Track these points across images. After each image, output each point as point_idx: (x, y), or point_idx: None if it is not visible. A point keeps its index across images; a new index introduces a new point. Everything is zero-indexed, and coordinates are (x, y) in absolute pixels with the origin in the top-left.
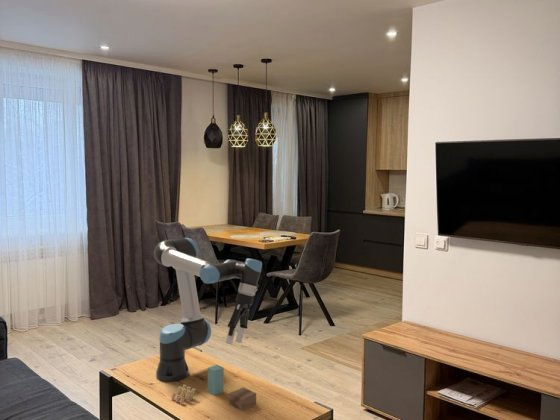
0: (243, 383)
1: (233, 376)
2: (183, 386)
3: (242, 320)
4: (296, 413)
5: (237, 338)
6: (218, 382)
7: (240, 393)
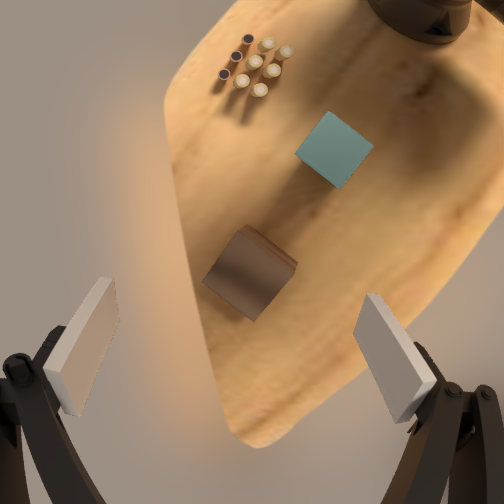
0: (405, 247)
1: (455, 203)
2: (279, 49)
3: (400, 480)
4: (229, 398)
5: (374, 321)
6: (315, 170)
7: (242, 270)
